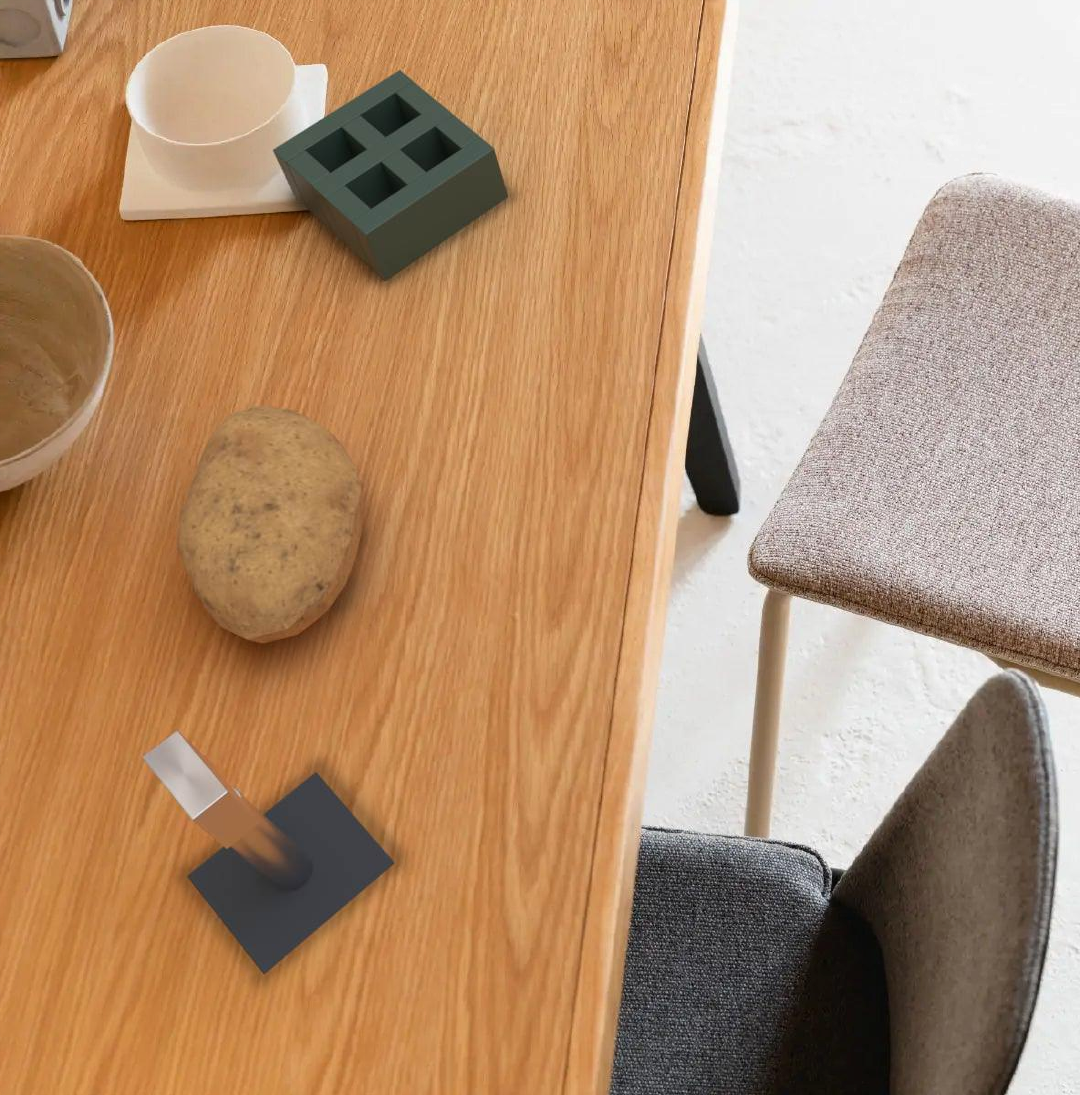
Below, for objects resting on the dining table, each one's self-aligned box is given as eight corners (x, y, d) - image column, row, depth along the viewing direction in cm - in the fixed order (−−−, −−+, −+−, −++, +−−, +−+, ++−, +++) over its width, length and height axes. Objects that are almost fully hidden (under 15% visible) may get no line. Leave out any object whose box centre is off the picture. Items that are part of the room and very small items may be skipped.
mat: (190, 879, 75) (186, 876, 75) (319, 775, 78) (315, 771, 77) (268, 977, 73) (263, 974, 72) (397, 866, 75) (394, 862, 75)
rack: (297, 203, 98) (272, 149, 93) (419, 125, 101) (399, 69, 97) (387, 287, 94) (365, 234, 90) (510, 202, 98) (494, 148, 93)
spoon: (254, 857, 75) (139, 758, 63) (286, 831, 76) (179, 728, 64) (299, 912, 74) (190, 822, 61) (331, 885, 74) (230, 790, 62)
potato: (200, 686, 81) (138, 621, 74) (222, 472, 87) (167, 394, 80) (378, 666, 81) (334, 600, 74) (386, 455, 88) (346, 376, 81)
